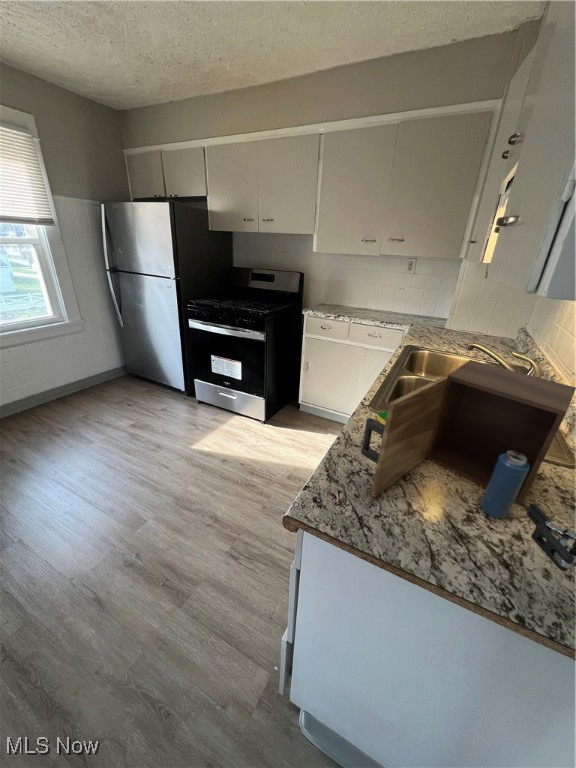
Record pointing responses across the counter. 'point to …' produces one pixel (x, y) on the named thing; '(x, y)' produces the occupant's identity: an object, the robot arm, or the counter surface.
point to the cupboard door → (403, 434)
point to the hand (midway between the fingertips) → (555, 508)
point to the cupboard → (496, 421)
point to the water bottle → (504, 484)
